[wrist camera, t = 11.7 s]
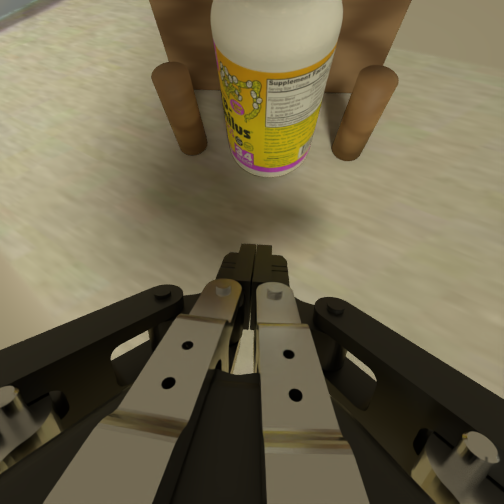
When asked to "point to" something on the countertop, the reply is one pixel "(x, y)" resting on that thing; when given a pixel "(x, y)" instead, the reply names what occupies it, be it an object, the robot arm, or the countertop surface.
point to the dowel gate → (349, 133)
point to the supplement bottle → (273, 76)
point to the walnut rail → (344, 60)
